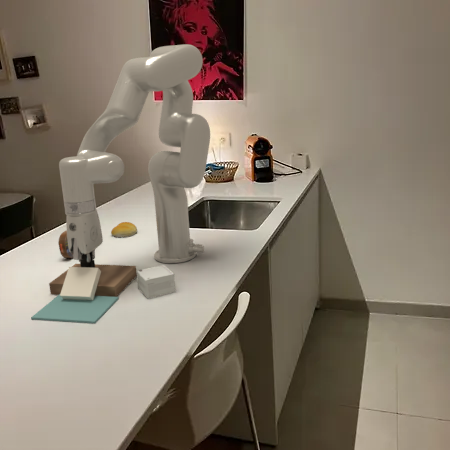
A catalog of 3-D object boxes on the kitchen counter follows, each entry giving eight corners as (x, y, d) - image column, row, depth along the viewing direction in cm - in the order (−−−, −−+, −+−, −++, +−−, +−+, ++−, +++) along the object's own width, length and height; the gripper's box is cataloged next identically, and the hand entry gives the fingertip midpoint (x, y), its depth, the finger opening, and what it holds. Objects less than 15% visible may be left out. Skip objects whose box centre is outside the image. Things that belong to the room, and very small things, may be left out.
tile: (101, 271, 131) (98, 267, 129) (93, 300, 126) (89, 296, 125) (72, 270, 132) (69, 266, 131) (63, 299, 128) (59, 295, 126)
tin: (68, 262, 155) (64, 235, 152) (59, 261, 156) (55, 235, 153) (90, 245, 169) (87, 220, 167) (82, 245, 170) (78, 220, 167)
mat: (118, 298, 128) (118, 296, 128) (95, 323, 116) (94, 321, 115) (60, 295, 131) (60, 293, 131) (31, 319, 119) (31, 317, 119)
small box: (176, 292, 130) (175, 273, 129) (146, 299, 127) (145, 280, 125) (165, 282, 137) (164, 264, 135) (137, 288, 134) (135, 270, 132)
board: (136, 276, 141) (135, 265, 141) (115, 297, 128) (114, 286, 127) (77, 273, 145) (75, 263, 144) (50, 294, 132) (49, 283, 131)
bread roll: (108, 238, 176) (106, 227, 175) (119, 230, 184) (118, 219, 183) (130, 239, 174) (129, 227, 173) (140, 231, 182) (139, 220, 181)
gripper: (79, 215, 121) (88, 287, 126) (107, 199, 135) (114, 265, 140) (50, 214, 122) (61, 285, 128) (81, 199, 136) (89, 264, 142)
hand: (89, 274), depth 134 cm, fingers closed
